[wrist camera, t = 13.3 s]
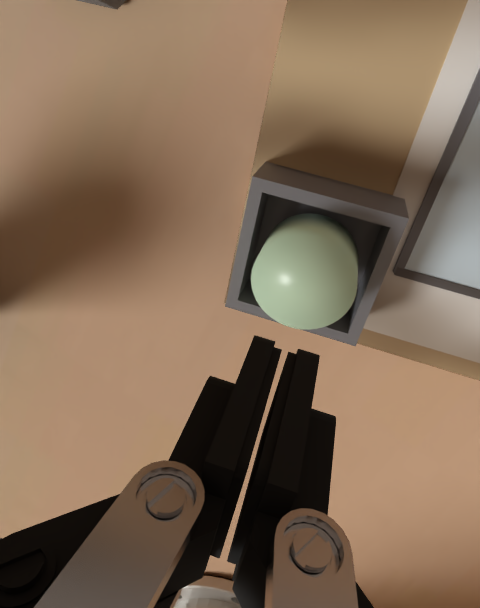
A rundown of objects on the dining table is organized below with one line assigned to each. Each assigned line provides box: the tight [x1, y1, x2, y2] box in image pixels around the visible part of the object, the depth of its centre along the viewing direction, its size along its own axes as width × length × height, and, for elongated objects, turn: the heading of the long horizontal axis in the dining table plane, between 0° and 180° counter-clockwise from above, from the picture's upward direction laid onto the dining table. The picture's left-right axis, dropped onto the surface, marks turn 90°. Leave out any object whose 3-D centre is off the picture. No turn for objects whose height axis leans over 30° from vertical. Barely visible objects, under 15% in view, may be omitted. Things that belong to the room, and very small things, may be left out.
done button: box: [251, 213, 358, 330], centre depth 18 cm, size 4×4×2 cm
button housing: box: [225, 162, 409, 346], centre depth 19 cm, size 6×6×3 cm
